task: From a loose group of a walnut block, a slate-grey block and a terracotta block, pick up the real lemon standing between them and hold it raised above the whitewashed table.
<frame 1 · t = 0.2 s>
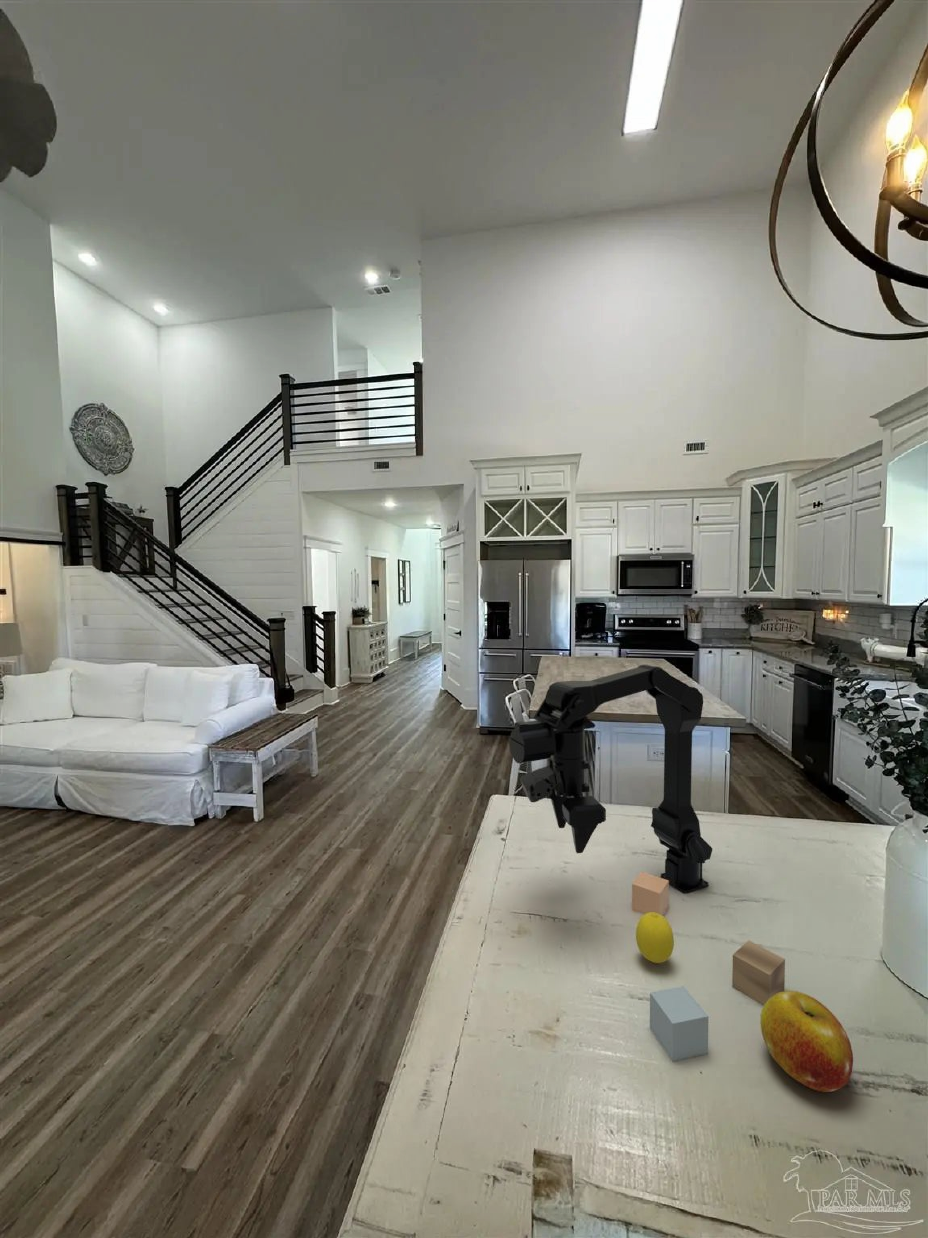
hand: (569, 839, 91), 14 cm above the table, fingers open, 9 cm apart
terracotta block: (650, 908, 93), on the table
lemon: (654, 963, 80), on the table
fruit: (804, 1071, 62), on the table
walnut block: (758, 989, 74), on the table
slate block: (678, 1041, 66), on the table
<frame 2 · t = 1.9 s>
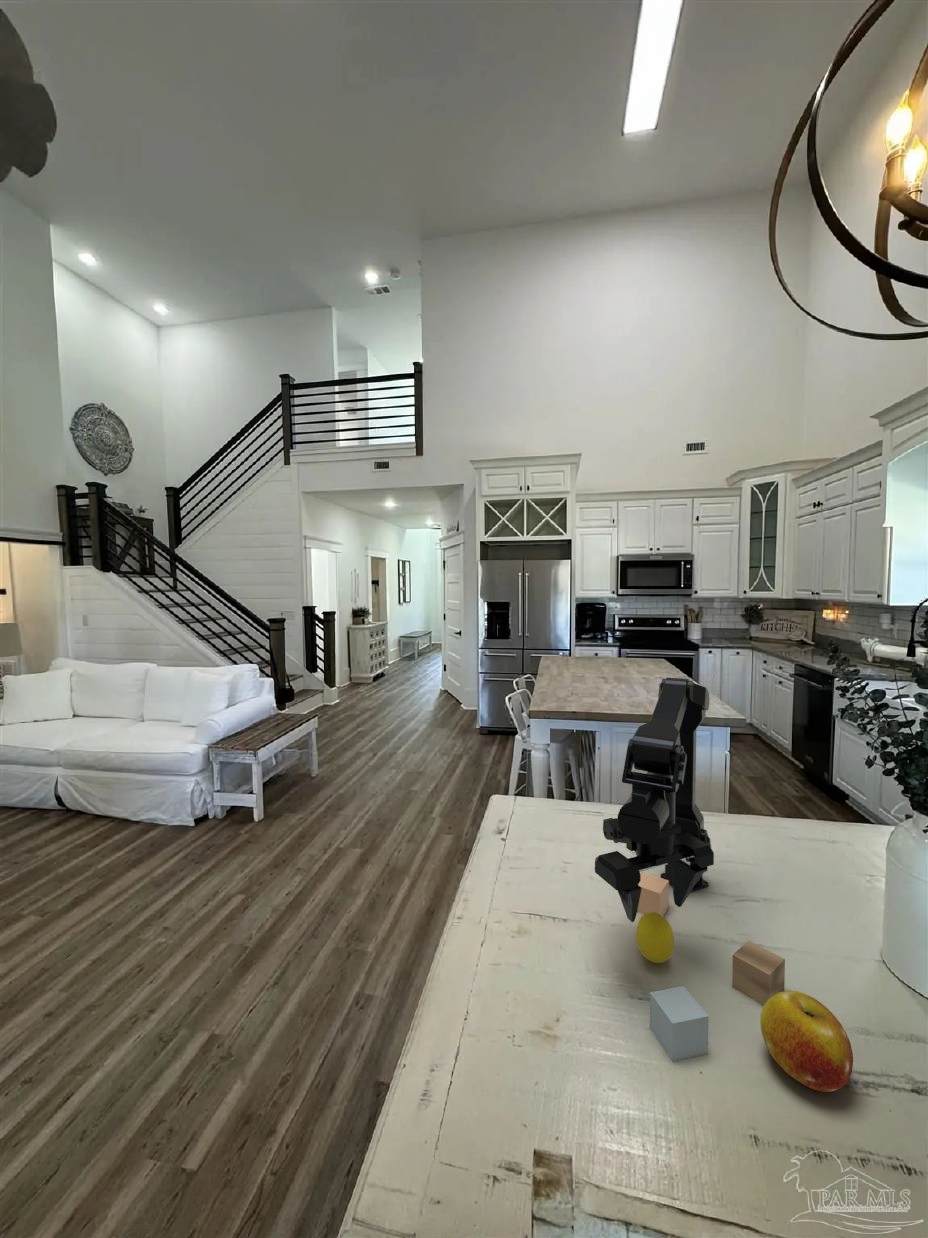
hand: (654, 912, 79), 8 cm above the table, fingers open, 9 cm apart
nothing on the table moved.
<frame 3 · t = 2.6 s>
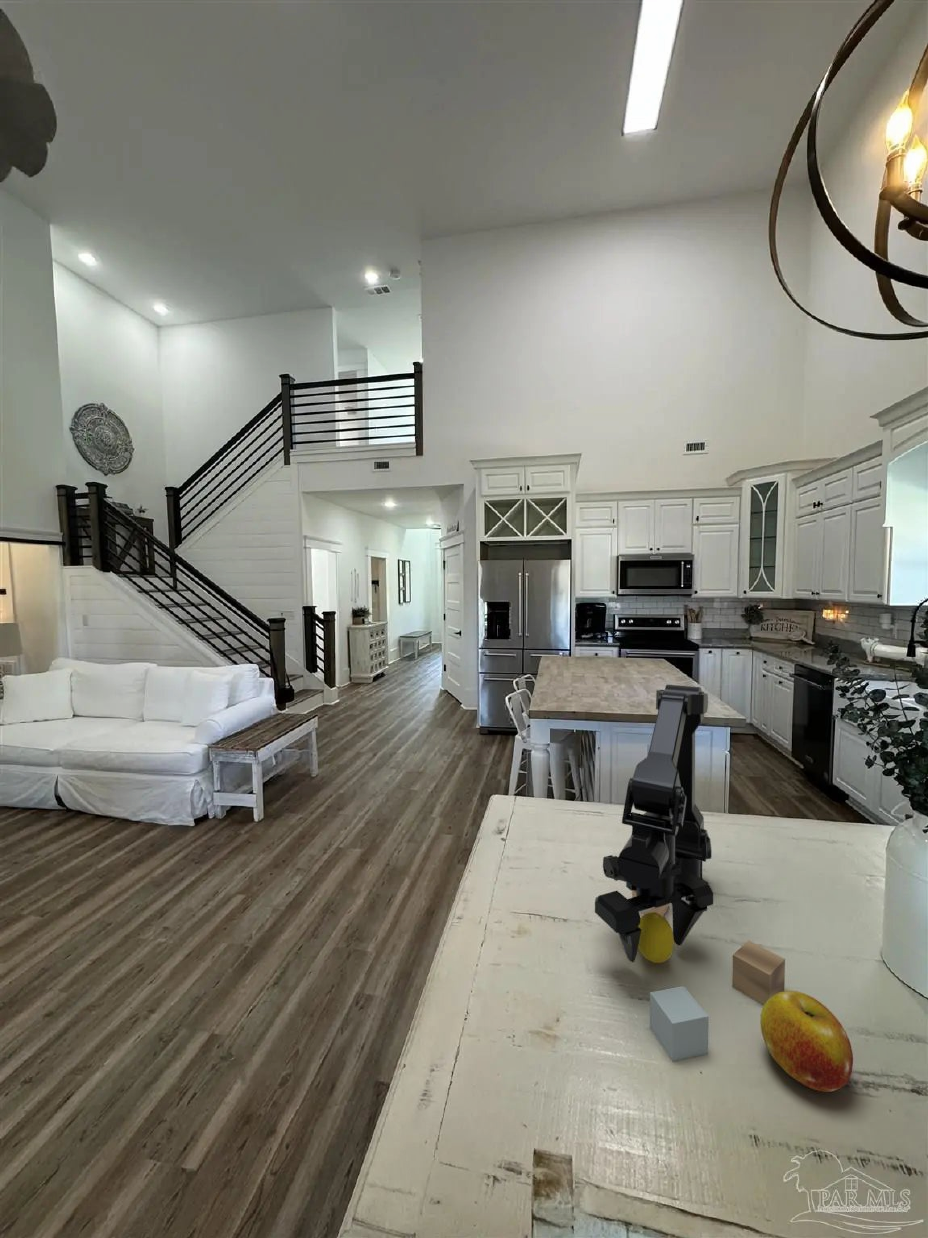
hand: (654, 952, 80), 2 cm above the table, fingers open, 9 cm apart
nothing on the table moved.
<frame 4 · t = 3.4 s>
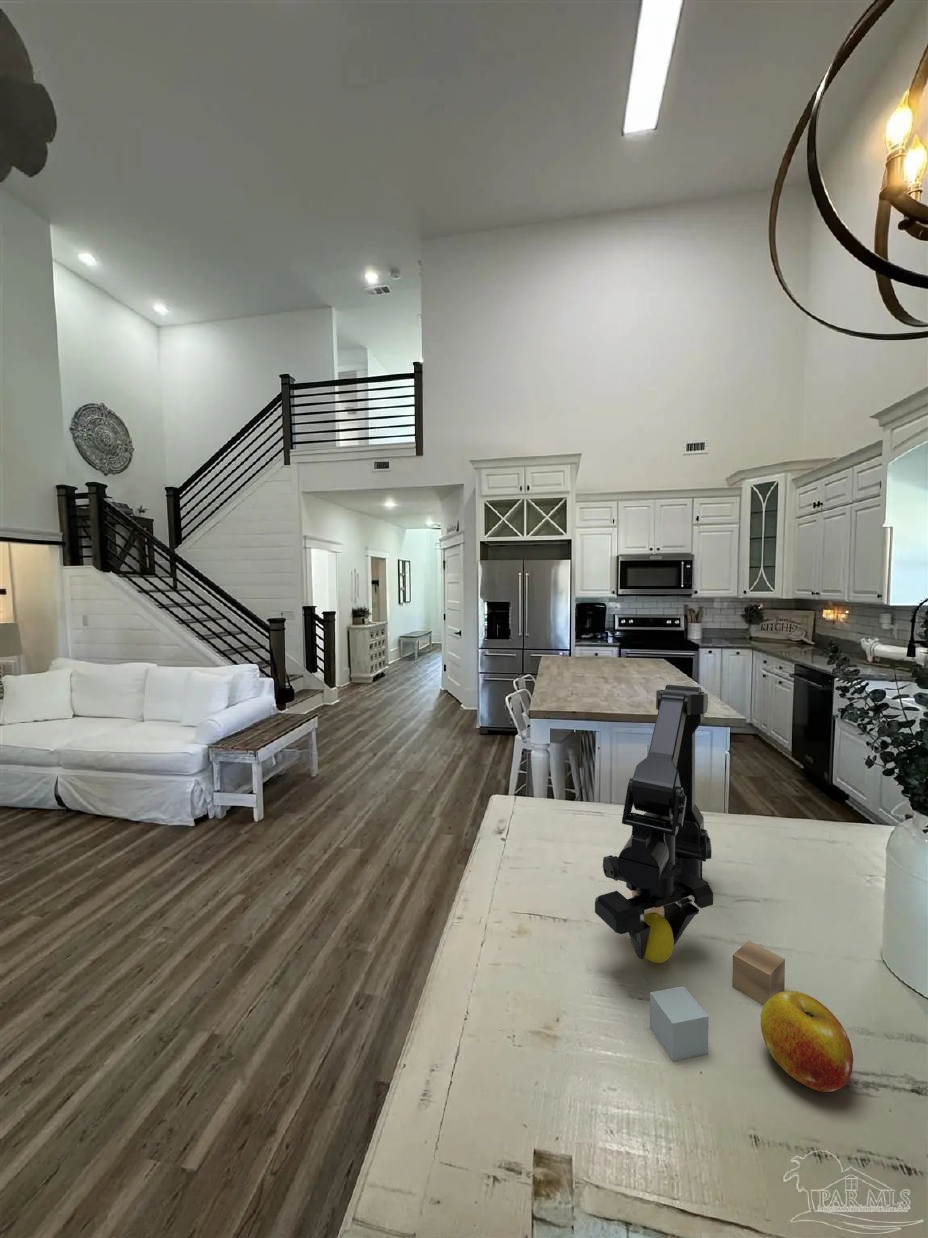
hand: (654, 952, 80), 2 cm above the table, fingers closed on lemon, 5 cm apart
lemon: (654, 963, 80), on the table, touching gripper
everything else where it was.
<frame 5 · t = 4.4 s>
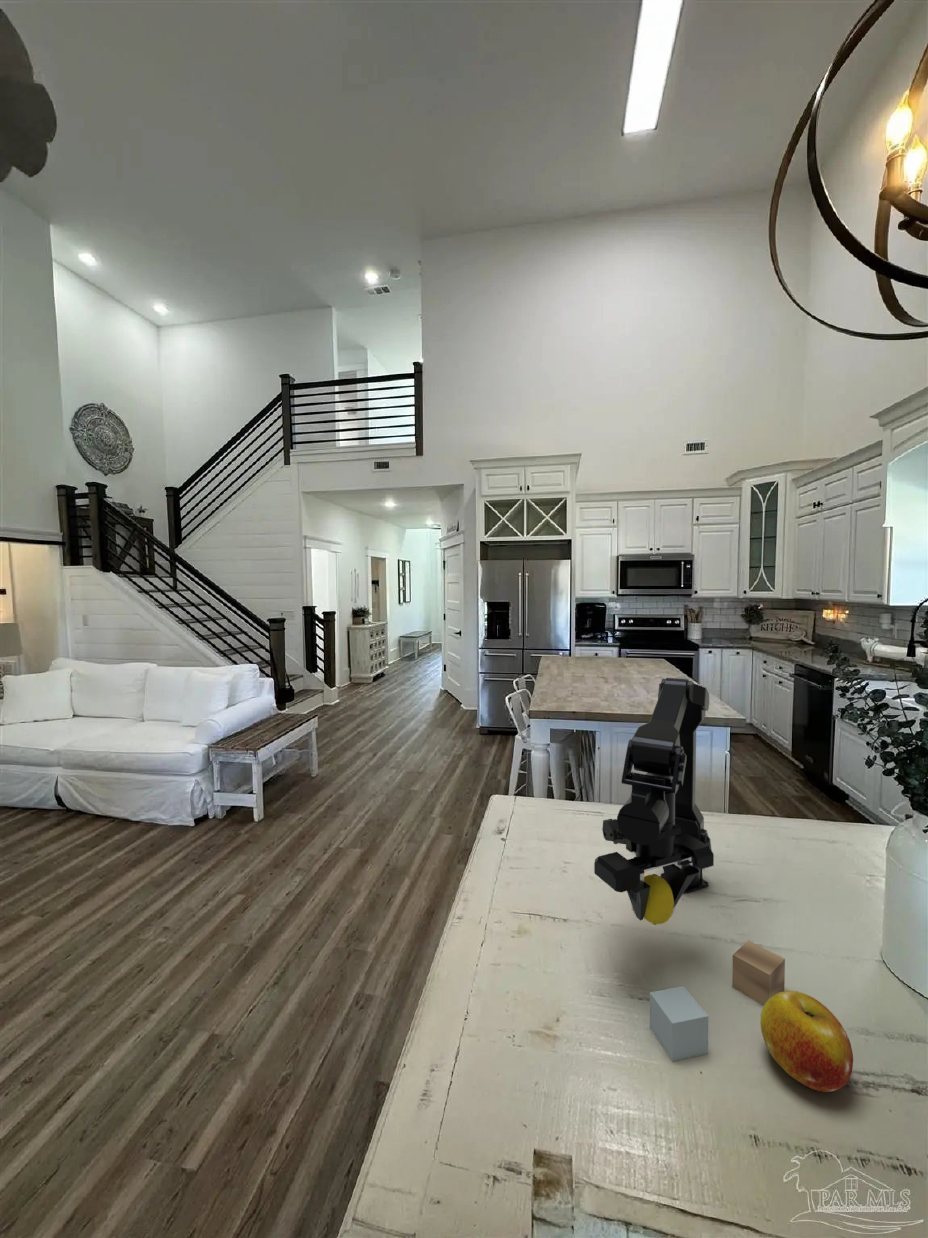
hand: (654, 914, 79), 8 cm above the table, fingers closed on lemon, 5 cm apart
lemon: (654, 925, 79), point 6 cm above the table, touching gripper
everything else where it was.
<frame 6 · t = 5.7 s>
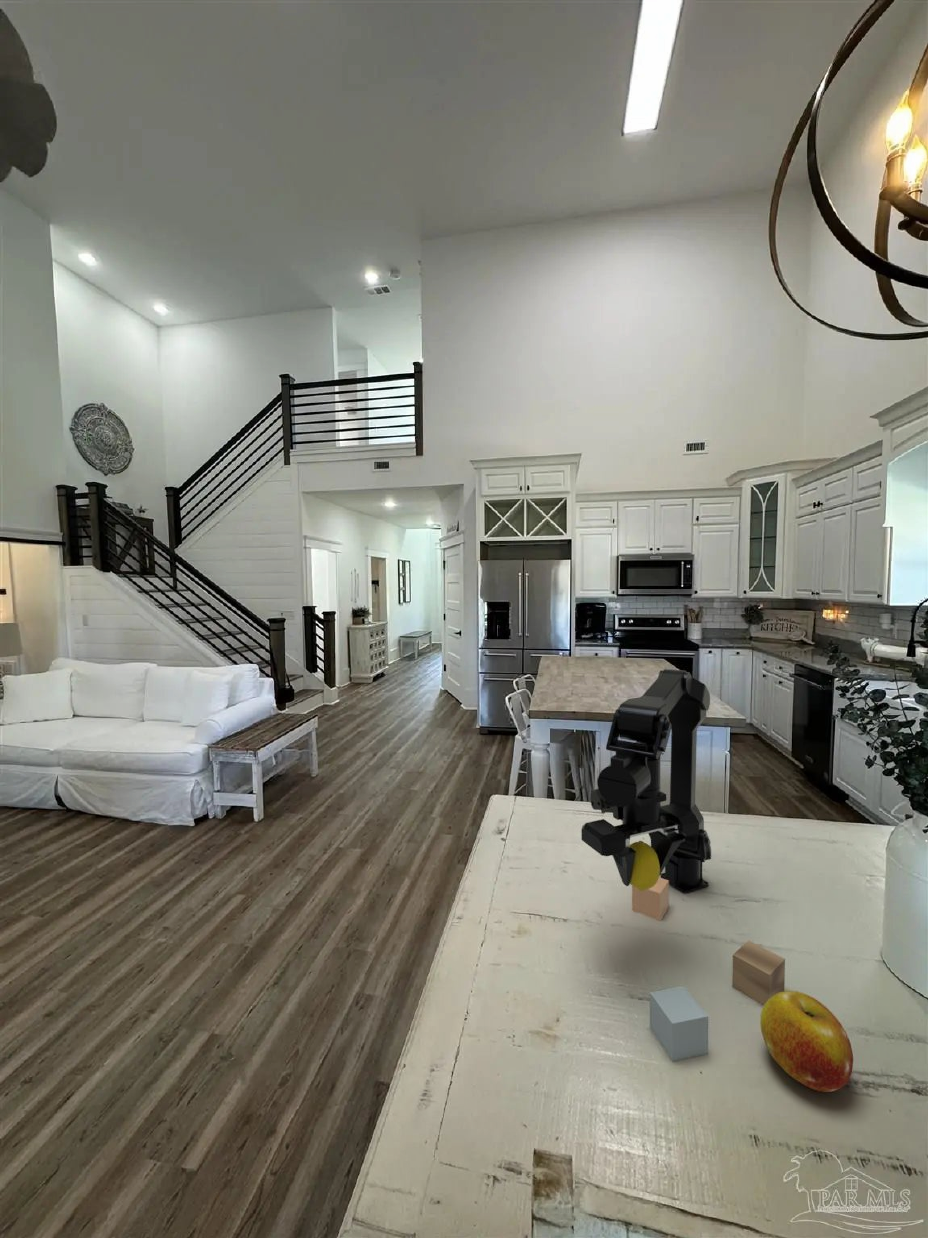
hand: (640, 880, 81), 12 cm above the table, fingers closed on lemon, 5 cm apart
lemon: (641, 891, 81), point 11 cm above the table, touching gripper
everything else where it was.
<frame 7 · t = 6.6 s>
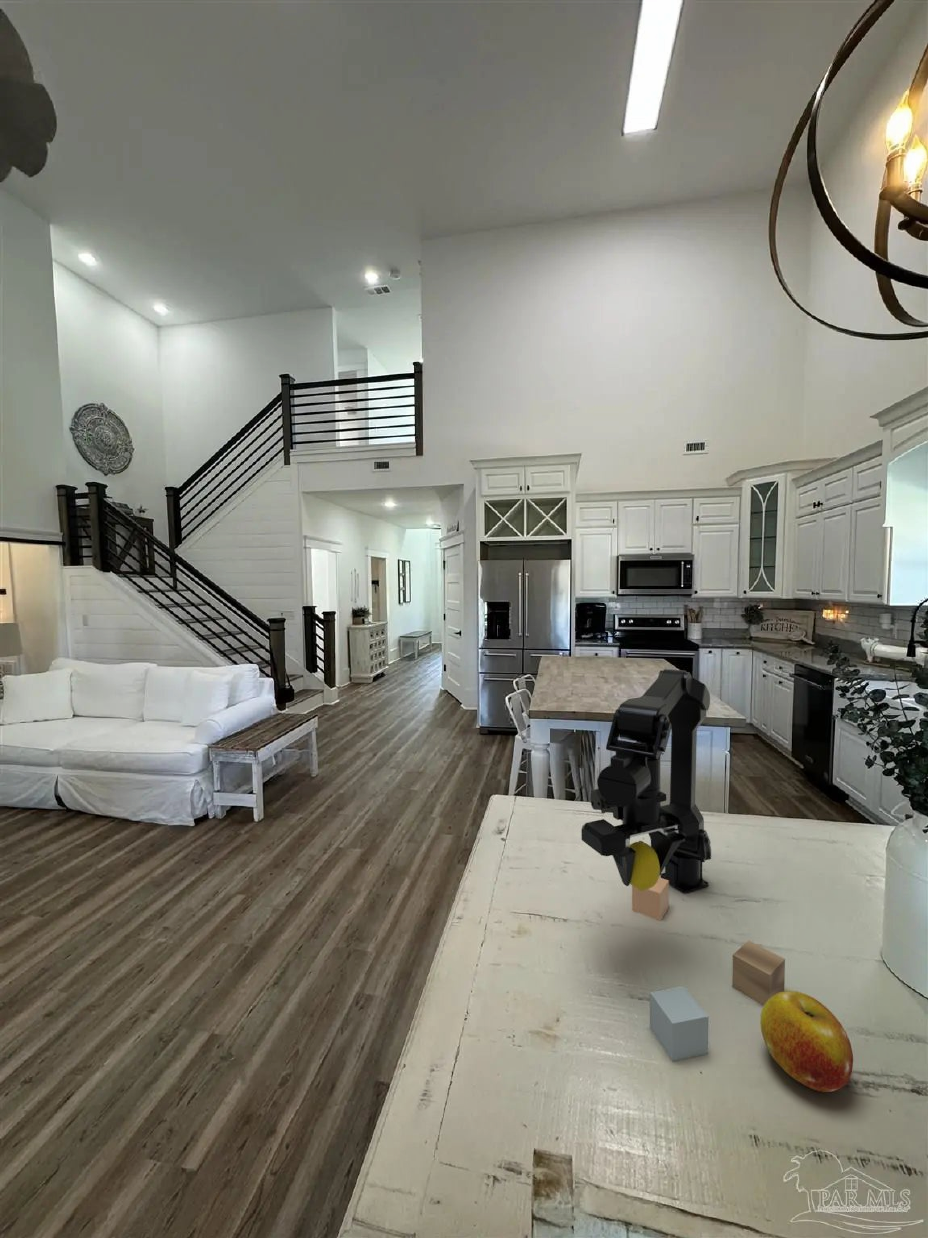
hand: (640, 880, 81), 12 cm above the table, fingers closed on lemon, 5 cm apart
lemon: (641, 891, 81), point 11 cm above the table, touching gripper
everything else where it was.
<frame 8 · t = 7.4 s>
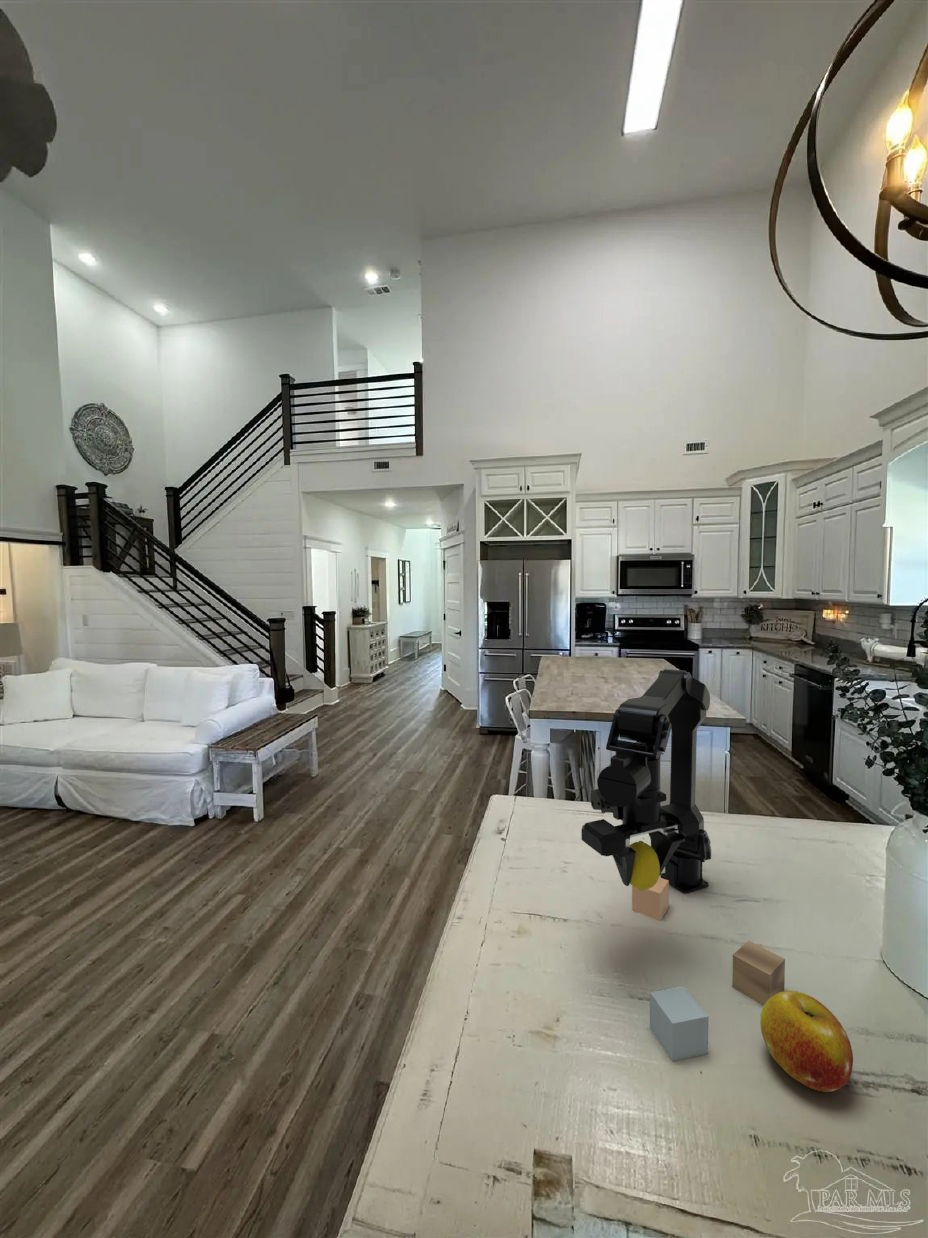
hand: (640, 880, 81), 12 cm above the table, fingers closed on lemon, 5 cm apart
lemon: (641, 891, 81), point 11 cm above the table, touching gripper
everything else where it was.
at the end: the gripper is holding lemon; lemon point 10.5 cm above the table; terracotta block moved 0.1 cm from its start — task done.
